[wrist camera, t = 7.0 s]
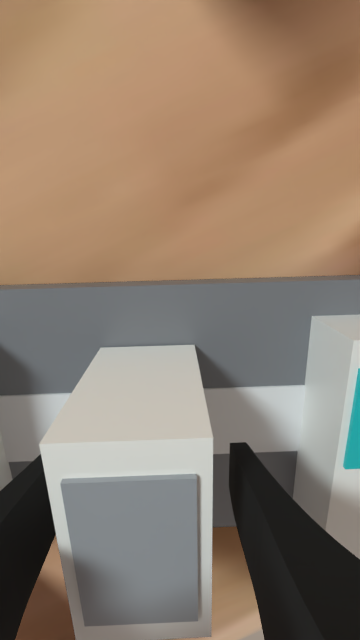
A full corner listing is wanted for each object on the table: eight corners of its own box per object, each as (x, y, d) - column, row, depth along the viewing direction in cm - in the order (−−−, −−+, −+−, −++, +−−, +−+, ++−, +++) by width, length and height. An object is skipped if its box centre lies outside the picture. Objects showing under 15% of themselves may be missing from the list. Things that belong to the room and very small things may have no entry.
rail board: (-37, 517, 17) (-108, 612, 12) (-105, 288, 13) (-238, 313, 9) (351, 501, 17) (410, 589, 13) (391, 274, 13) (492, 292, 9)
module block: (114, 480, 14) (74, 650, 9) (100, 347, 12) (36, 448, 7) (195, 477, 15) (212, 643, 9) (194, 344, 13) (213, 442, 7)
